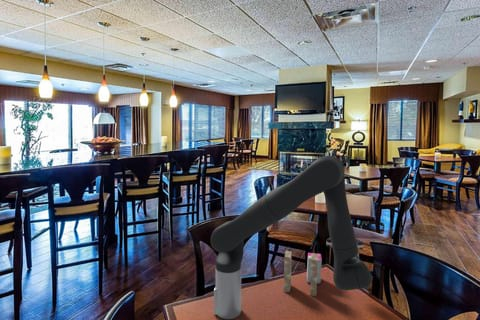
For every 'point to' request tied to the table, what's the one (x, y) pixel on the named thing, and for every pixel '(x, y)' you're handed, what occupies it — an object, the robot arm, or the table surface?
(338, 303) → the table surface
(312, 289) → the tile
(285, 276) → the tan flat rectangular block
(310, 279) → the supplement box
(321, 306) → the table surface
